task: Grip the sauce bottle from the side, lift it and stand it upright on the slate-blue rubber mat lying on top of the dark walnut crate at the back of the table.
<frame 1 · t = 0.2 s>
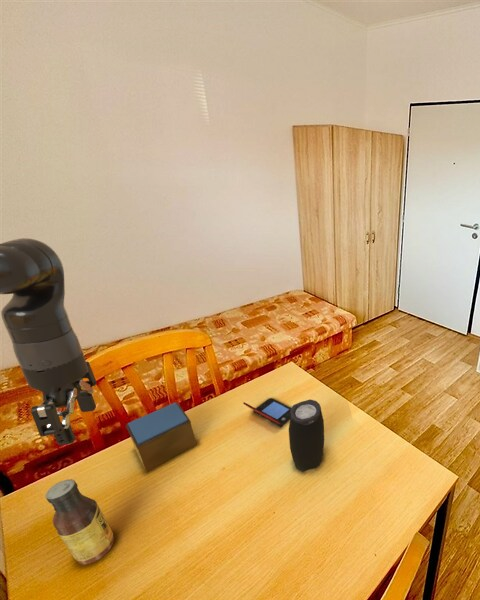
hand: (79, 425, 62), 29 cm above the table, tool pointing down, fingers open, 8 cm apart
sauce bottle: (96, 549, 68), on the table
portable speaker: (308, 460, 91), on the table
mat: (158, 422, 87), resting on crate
handheld console: (271, 416, 105), on the table
crate: (166, 448, 91), on the table
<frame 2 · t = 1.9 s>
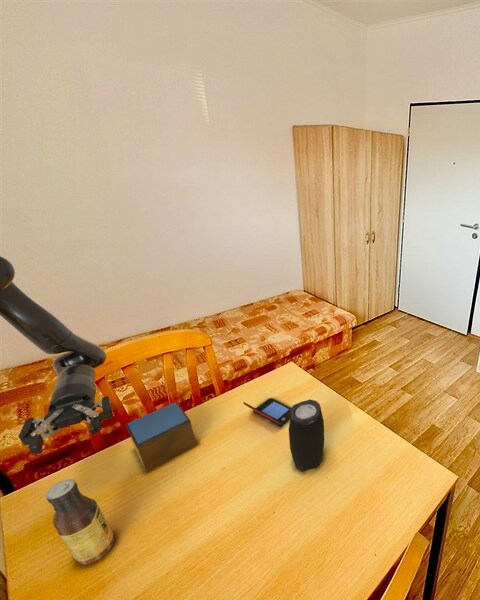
hand: (65, 441, 66), 22 cm above the table, tool horizontal, fingers open, 8 cm apart
nothing on the table moved.
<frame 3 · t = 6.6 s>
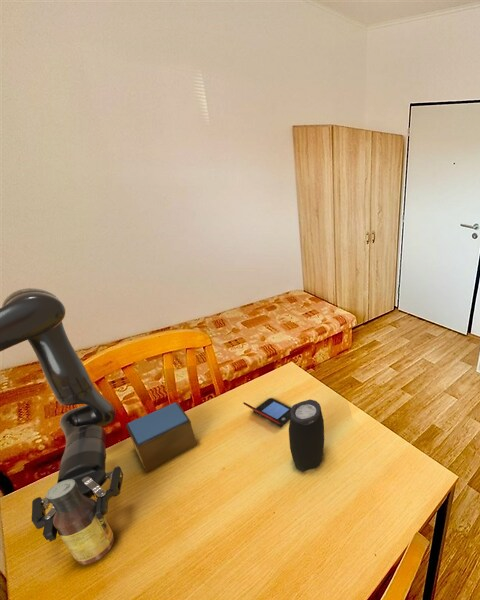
hand: (76, 526, 61), 12 cm above the table, tool horizontal, fingers closed on sauce bottle, 6 cm apart
sauce bottle: (96, 549, 68), on the table, touching gripper
everything else where it was.
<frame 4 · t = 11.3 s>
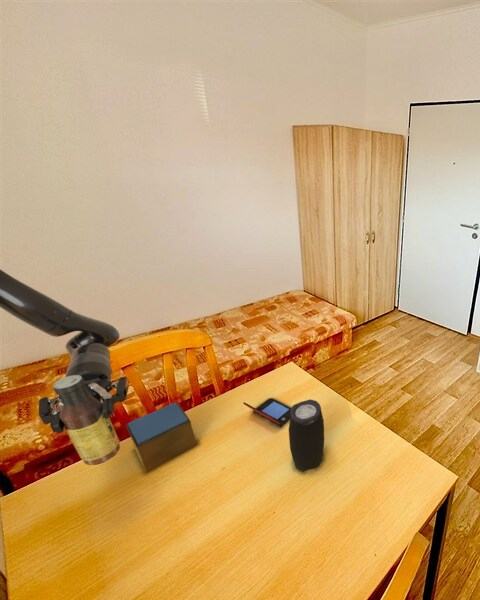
hand: (83, 422, 62), 30 cm above the table, tool horizontal, fingers closed on sauce bottle, 6 cm apart
sauce bottle: (102, 454, 68), point 18 cm above the table, touching gripper
everything else where it was.
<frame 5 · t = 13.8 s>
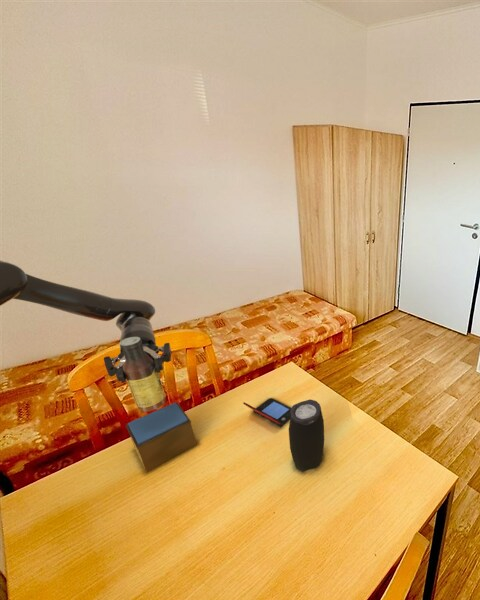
hand: (140, 374, 77), 28 cm above the table, tool horizontal, fingers closed on sauce bottle, 6 cm apart
sauce bottle: (152, 404, 84), point 17 cm above the table, touching gripper
everything else where it was.
when the fingers open (22 cm above the table, at t = 16.0 s): sauce bottle stays where it is, resting on mat.
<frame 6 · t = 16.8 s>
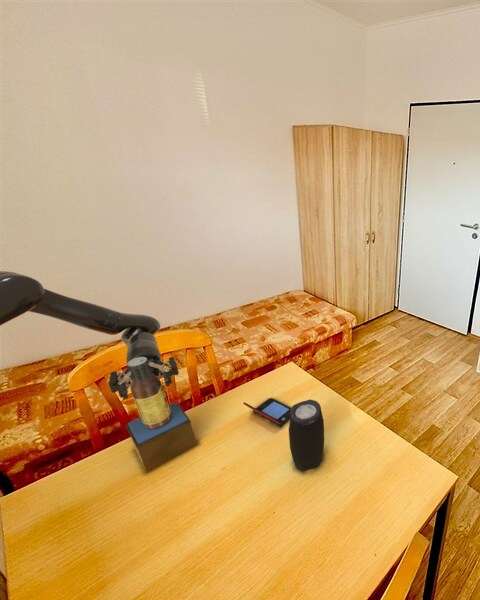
hand: (146, 389, 80), 23 cm above the table, tool horizontal, fingers open, 8 cm apart
sauce bottle: (158, 421, 87), point 10 cm above the table, touching mat
everything else where it was.
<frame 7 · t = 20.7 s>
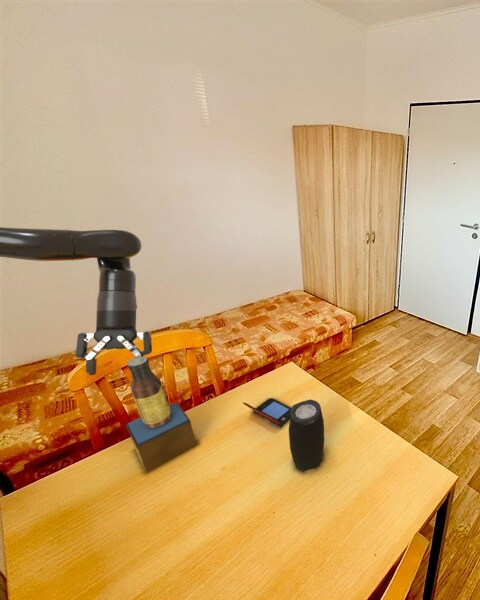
hand: (115, 373, 80), 26 cm above the table, tool tilted 30°, fingers open, 8 cm apart
nothing on the table moved.
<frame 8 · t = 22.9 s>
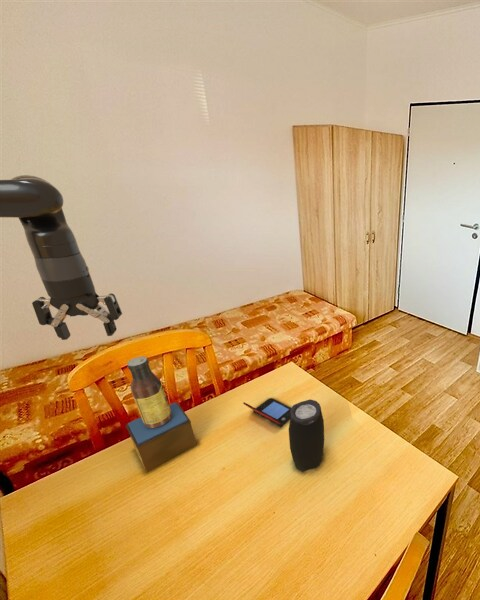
hand: (89, 336, 76), 36 cm above the table, tool pointing down, fingers open, 8 cm apart
nothing on the table moved.
at the end: sauce bottle inside the target area on the mat (0.2 cm from its centre), point 0.4 cm above the mat's base; sauce bottle tilted 0°; the gripper is holding nothing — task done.
